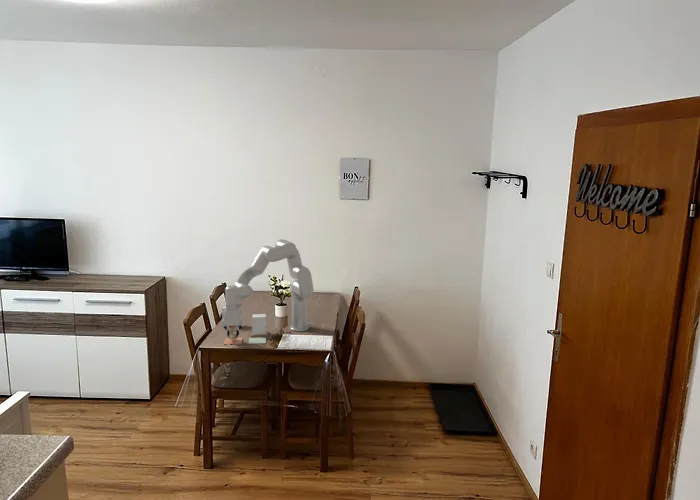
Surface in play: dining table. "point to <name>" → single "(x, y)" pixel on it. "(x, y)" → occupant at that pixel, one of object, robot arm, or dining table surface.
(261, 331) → the mounted unit
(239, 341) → the terracotta pad
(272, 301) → the dining table surface
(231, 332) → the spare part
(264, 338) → the sage pad
